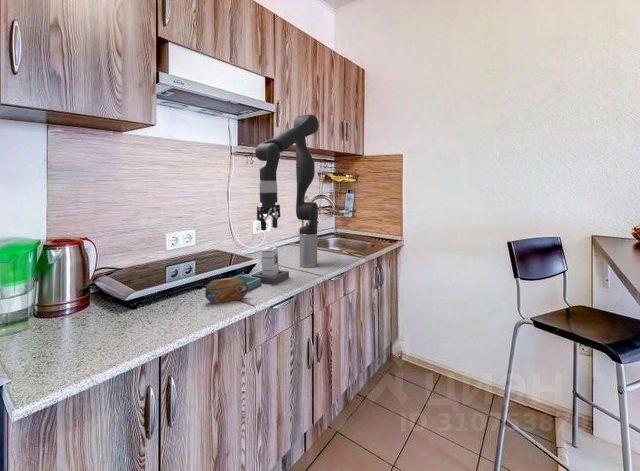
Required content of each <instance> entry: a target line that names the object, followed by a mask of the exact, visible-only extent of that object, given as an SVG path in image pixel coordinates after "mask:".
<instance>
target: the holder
mask: <svg viewBox="0 0 640 471" xmlns="http://www.w3.org/2000/svg"><path fill="white" fill-rule="evenodd" d="M250 277H256V278H261V284H263V285H270V286H276V285H278V284H280V283H282V282H283V281H287V279H290V272H289V270H281V269H280V270H279V274H278V275H275V276H273V277H272V276H265V275H262V270H260V271H257V272H254V273H252V274H250Z"/></svg>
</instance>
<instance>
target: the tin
mask: <svg viewBox="0 0 640 471" xmlns="http://www.w3.org/2000/svg"><path fill="white" fill-rule="evenodd" d="M233 277H234V278H233ZM233 277H228V278H222V279H221V278H220V279H214V280H211V281H210V282H209V283H208V284H207V285H206V287H205V290H204V295H205V298H206V300H207V301H209V302H210V303H212V304H222V303H229V302H236V301H239V300H240V301H241V300H242V299H244V298H245V297H246V295H247V294H248V292H249V291H248V285H247V283H246V282H245V281H244V280H243V279H241V278H238V277H235V276H233ZM247 291H248V292H247Z"/></svg>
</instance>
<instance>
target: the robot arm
mask: <svg viewBox="0 0 640 471" xmlns="http://www.w3.org/2000/svg"><path fill="white" fill-rule="evenodd" d="M319 127H320V126H319V120H318V118H317V116H316V115H315V114H303V115H297V116H296V117H294V120H293V127H291V128H289V129H285V130H284V131H282V132H280V133H278V134H277V135H276V136H274V137H273V138H270V139H268V140H265V141H263V142H261V143H260V144H257V146H256V149H255V151H254V155H255V158H256V159H257V160H258V161H262V162H266V163H265V165H264V166H262V167H260V168H259V202H260V204H261V205H257V206H256V220H257V221H259V222H260V230H261V231H267V219H268V218H269V217H271V218H272V220H271V221H272V225H271V226H272V228H273V229H277V228H278V220H279V218H281V205H280V204H279V203H278V202H279V201H278V182H277V180H278V179H277V170H278V168H279V167H278V165H279V162H280V157H281V153H283V152H284V151H286V150H288V149H289V148H290V147H292V146H293V145H295V172H296V174H295V176H296V202H295V203H296V204H295V215H296V218H297V220H299V221H309V223H308V224H306V225H304V226H301V227H300V228H299V230H298V231H299V232H298V234H299V235H298V236H299V266H300V267H302V268H315V267H317V266H318V227H319V226H318V224H319V222H318V220H319V219H318V218H319V206H318V203H317V202H314V201H313V202H311V201H309V202H308V201H305V195H306V193H307V191H308V188H309V187H310V186H311V184H312V182H313V180H314V179H315V173H316V172H315V171H316V170H315V161H314V158H313V156H312V154H311V152H310V150H309V149H308V147H307V140H306V137H309V136H311V135H313V134H314V135H315V134H316V132H317V131H318V130H319Z"/></svg>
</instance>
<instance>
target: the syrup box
mask: <svg viewBox="0 0 640 471" xmlns="http://www.w3.org/2000/svg"><path fill="white" fill-rule="evenodd" d="M278 250H279V248H278V247H277V246H266V247H264V248H262V249H261V250H260V251H261V252H260V253H261V271H262V275H265V276H272V277H273V276H275V275H278V274H279V252H278Z"/></svg>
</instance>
